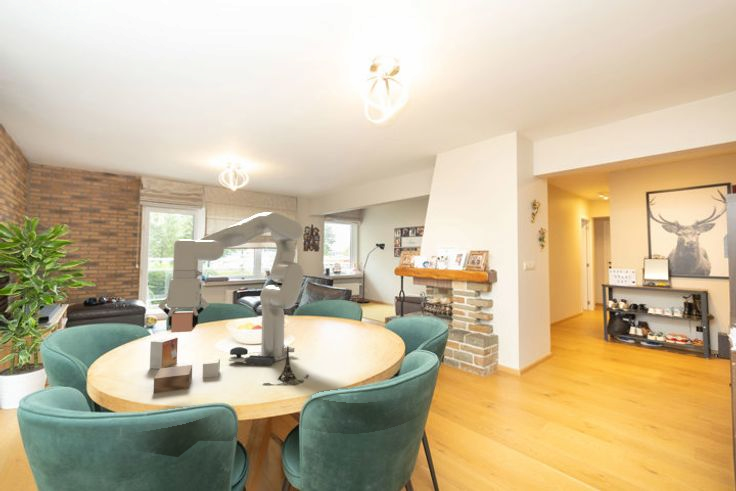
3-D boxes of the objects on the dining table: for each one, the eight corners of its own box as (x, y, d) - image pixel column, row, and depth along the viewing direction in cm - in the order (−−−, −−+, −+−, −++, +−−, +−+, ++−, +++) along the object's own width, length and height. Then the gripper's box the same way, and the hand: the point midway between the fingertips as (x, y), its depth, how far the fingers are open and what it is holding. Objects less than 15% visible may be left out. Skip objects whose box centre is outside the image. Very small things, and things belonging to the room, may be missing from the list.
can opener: (226, 365, 131) (226, 349, 131) (232, 361, 136) (232, 346, 136) (271, 367, 130) (271, 351, 130) (276, 362, 135) (276, 347, 135)
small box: (161, 369, 125) (162, 342, 125) (149, 368, 126) (150, 341, 126) (177, 362, 133) (178, 337, 133) (165, 361, 134) (166, 336, 134)
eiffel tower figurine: (261, 387, 111) (262, 348, 111) (269, 376, 121) (269, 340, 122) (305, 386, 112) (305, 348, 112) (309, 375, 122) (309, 340, 122)
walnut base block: (191, 378, 117) (192, 364, 117) (188, 389, 108) (189, 374, 108) (159, 382, 113) (160, 368, 113) (153, 394, 104) (153, 378, 104)
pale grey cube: (219, 371, 124) (219, 358, 124) (217, 376, 119) (217, 362, 119) (205, 372, 122) (205, 359, 122) (202, 377, 117) (202, 364, 118)
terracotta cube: (194, 327, 115) (195, 310, 115) (191, 331, 109) (191, 313, 110) (175, 328, 113) (176, 311, 114) (171, 332, 108) (171, 314, 108)
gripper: (214, 274, 118) (212, 323, 118) (160, 274, 113) (158, 326, 112) (210, 275, 111) (209, 328, 110) (153, 275, 106) (151, 330, 105)
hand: (183, 326), depth 111 cm, fingers closed on terracotta cube, 6 cm apart
